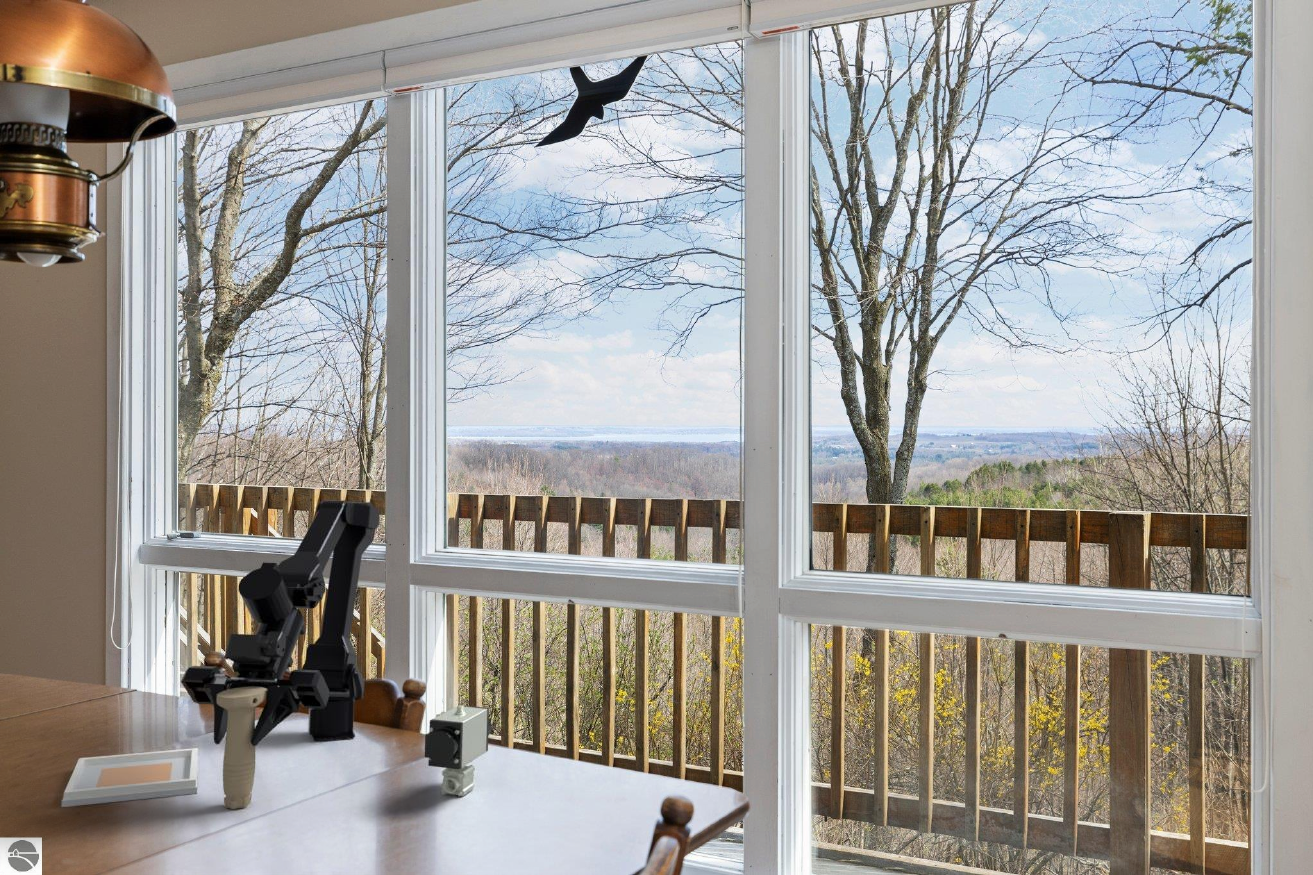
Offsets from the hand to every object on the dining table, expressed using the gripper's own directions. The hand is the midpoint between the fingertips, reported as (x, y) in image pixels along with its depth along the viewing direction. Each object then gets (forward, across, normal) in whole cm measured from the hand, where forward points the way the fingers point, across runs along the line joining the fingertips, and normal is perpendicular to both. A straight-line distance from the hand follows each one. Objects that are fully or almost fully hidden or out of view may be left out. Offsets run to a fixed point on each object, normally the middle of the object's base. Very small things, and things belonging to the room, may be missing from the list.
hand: (234, 743), depth 130 cm
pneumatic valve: (-1, +27, +14) cm, 30 cm away
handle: (+5, 0, +7) cm, 9 cm away
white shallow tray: (0, -18, +12) cm, 22 cm away
